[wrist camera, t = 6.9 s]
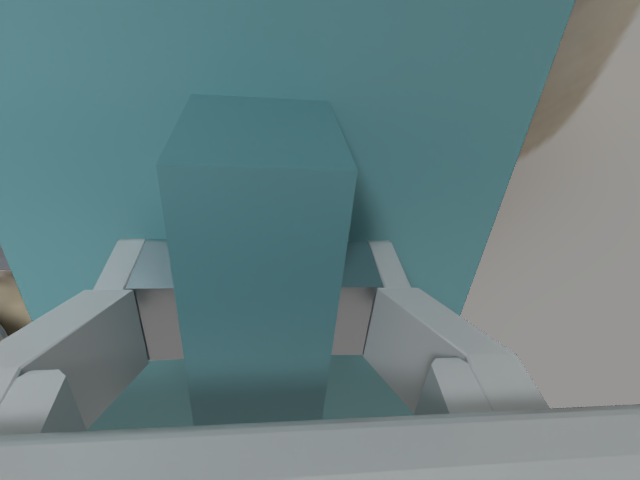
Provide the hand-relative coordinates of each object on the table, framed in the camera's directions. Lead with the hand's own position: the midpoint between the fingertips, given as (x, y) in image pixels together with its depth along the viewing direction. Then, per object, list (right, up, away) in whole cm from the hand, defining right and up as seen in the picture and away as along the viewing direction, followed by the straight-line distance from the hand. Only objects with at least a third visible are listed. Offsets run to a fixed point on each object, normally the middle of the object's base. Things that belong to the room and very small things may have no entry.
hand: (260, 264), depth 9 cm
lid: (0, +2, +3) cm, 3 cm away
